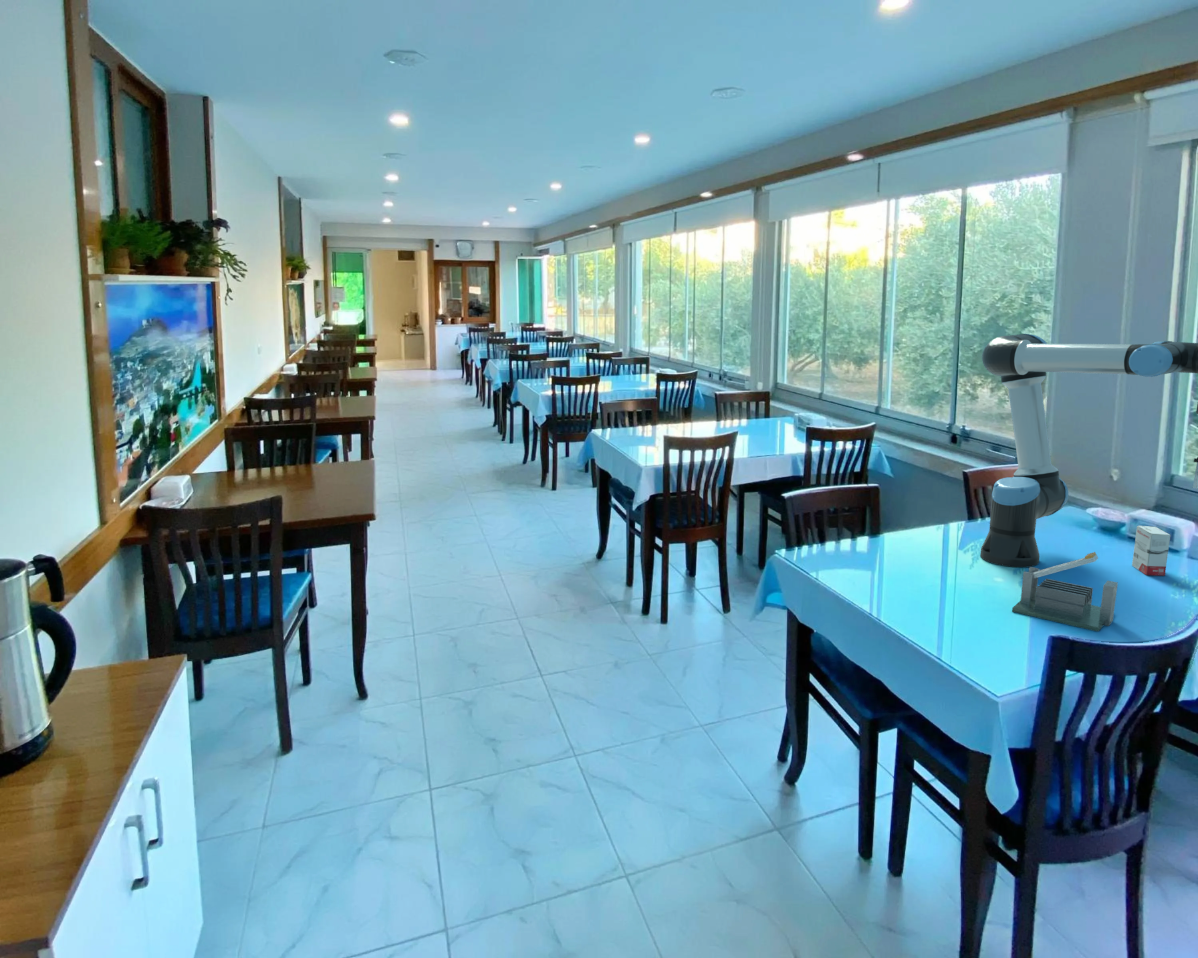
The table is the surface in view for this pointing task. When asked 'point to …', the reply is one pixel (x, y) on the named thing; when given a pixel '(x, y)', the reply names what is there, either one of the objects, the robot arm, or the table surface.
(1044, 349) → the robot arm
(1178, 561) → the table surface
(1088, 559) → the strap
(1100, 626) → the heatsink
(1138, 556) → the ink box
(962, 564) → the table surface
